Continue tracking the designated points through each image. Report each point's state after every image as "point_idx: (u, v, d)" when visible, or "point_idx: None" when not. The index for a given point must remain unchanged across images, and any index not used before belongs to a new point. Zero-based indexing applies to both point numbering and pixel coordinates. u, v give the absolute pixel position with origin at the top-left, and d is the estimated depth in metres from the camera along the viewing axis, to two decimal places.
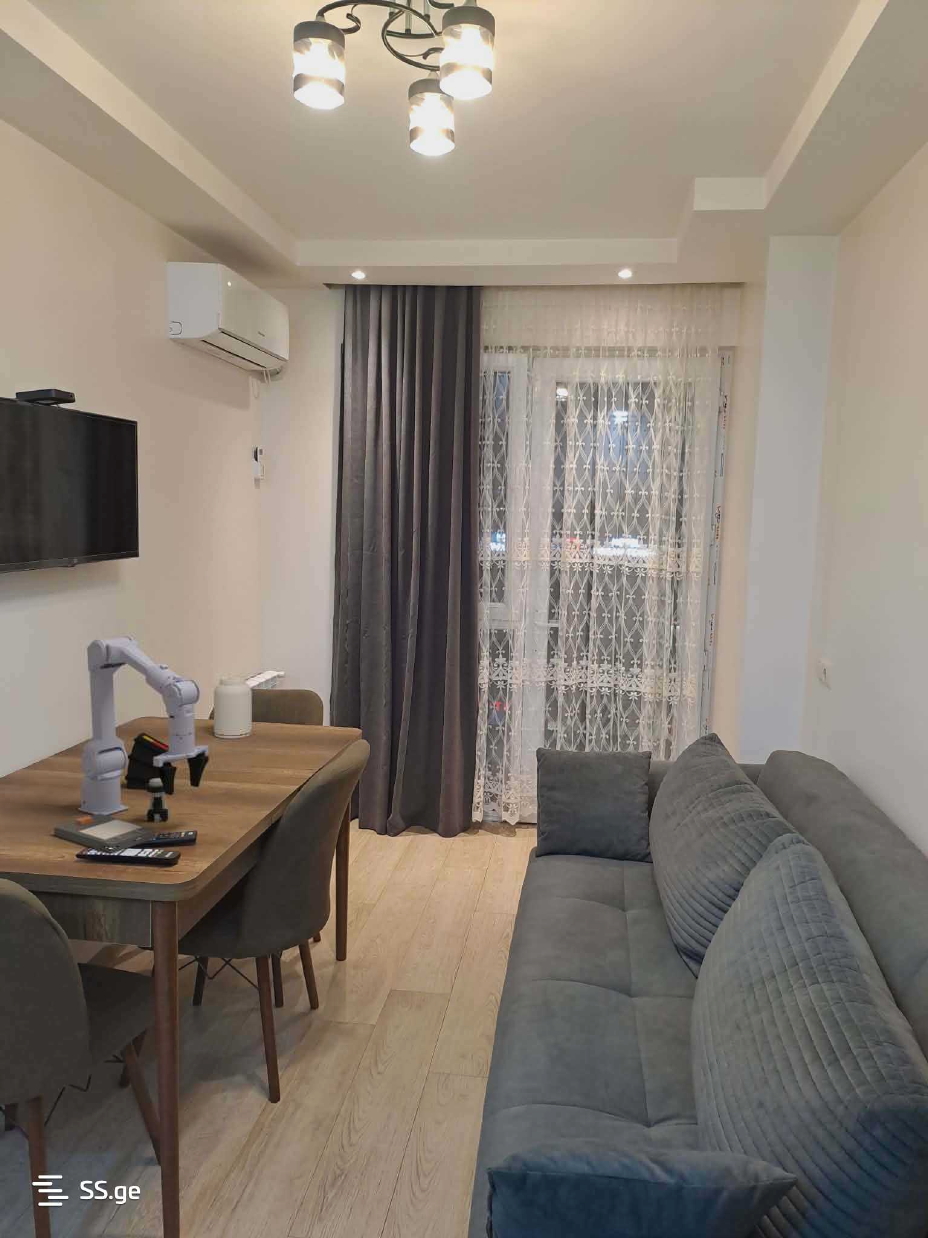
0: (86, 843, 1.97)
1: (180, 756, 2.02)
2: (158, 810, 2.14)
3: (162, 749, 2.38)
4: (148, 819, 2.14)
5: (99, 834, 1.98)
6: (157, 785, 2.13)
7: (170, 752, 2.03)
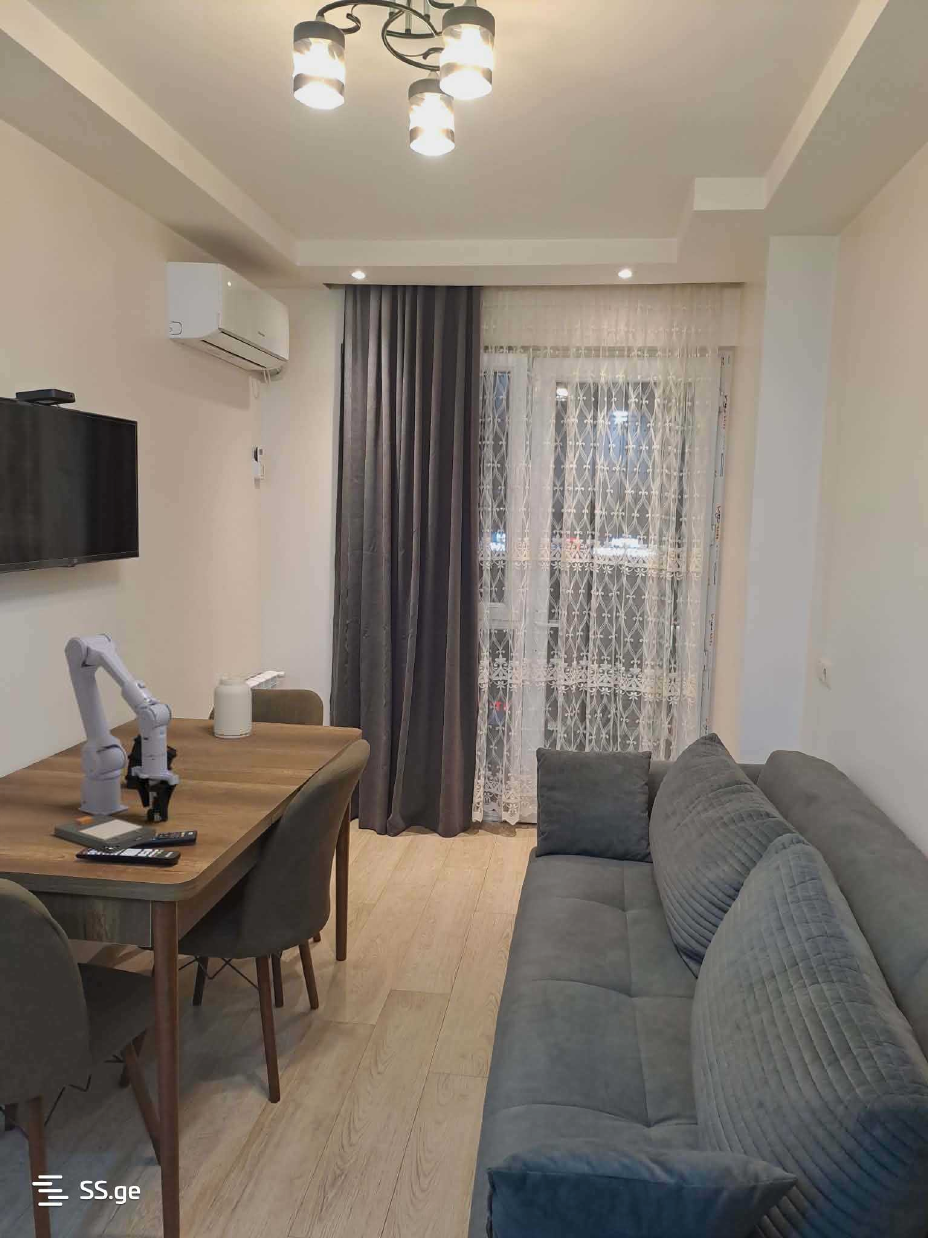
0: (86, 843, 1.97)
1: (139, 773, 2.13)
2: None
3: None
4: (148, 819, 2.14)
5: (99, 834, 1.98)
6: None
7: None
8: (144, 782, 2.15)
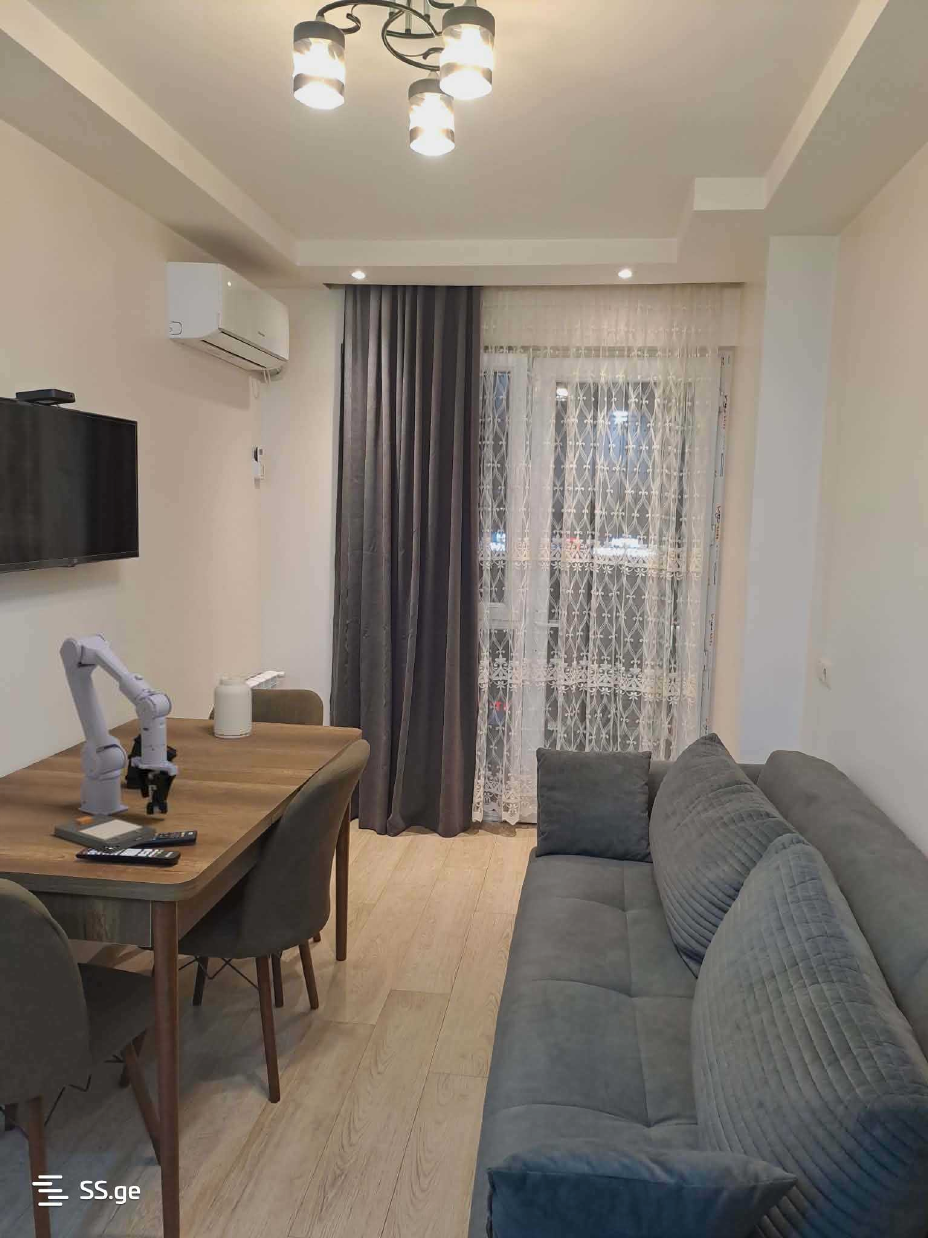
0: (86, 843, 1.97)
1: (139, 763, 2.13)
2: (157, 802, 2.14)
3: None
4: (147, 812, 2.14)
5: (99, 834, 1.98)
6: None
7: None
8: (144, 773, 2.15)
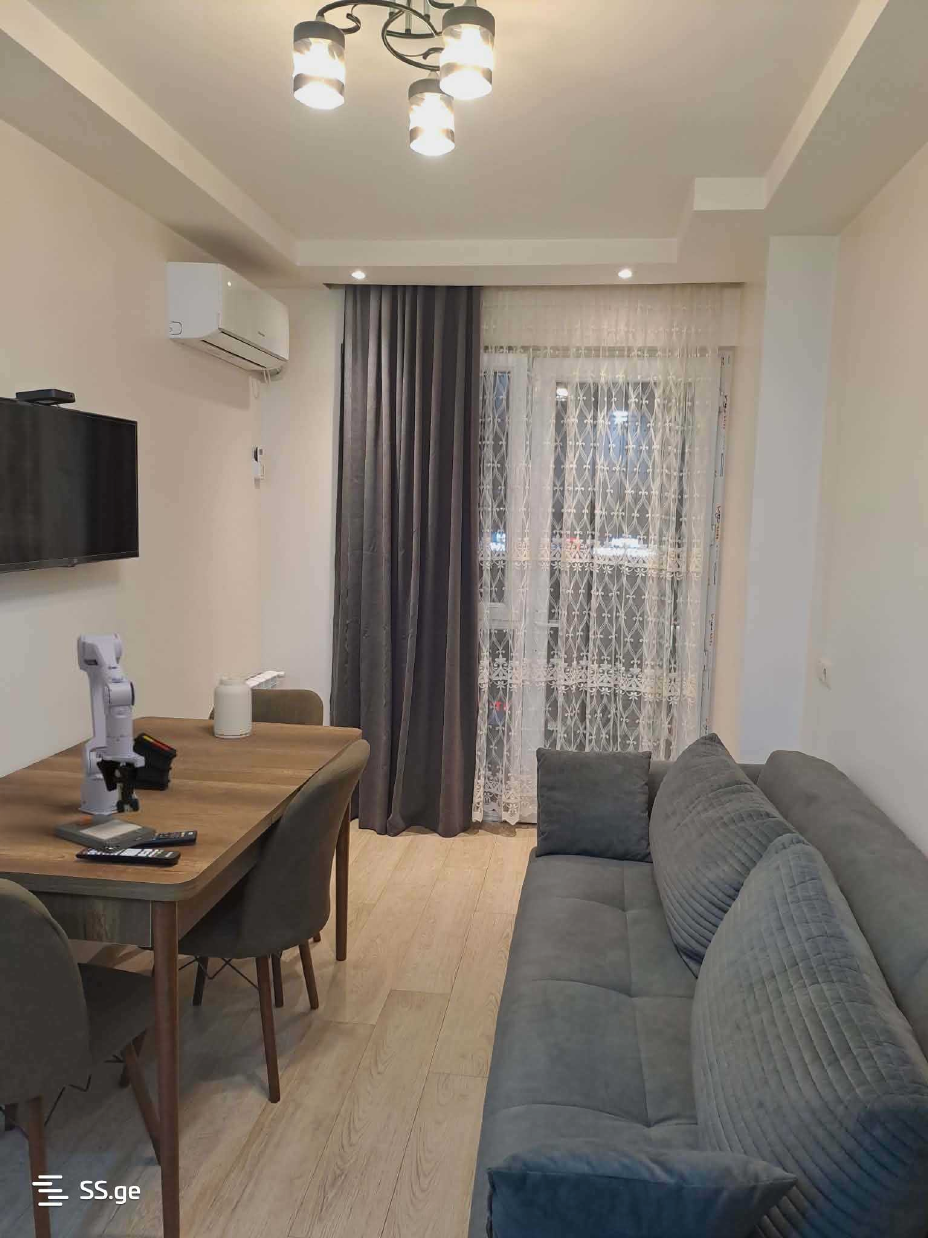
0: (86, 843, 1.97)
1: (103, 755, 2.02)
2: (127, 800, 2.04)
3: (162, 749, 2.38)
4: (118, 810, 2.05)
5: (99, 834, 1.98)
6: None
7: None
8: (108, 765, 2.04)
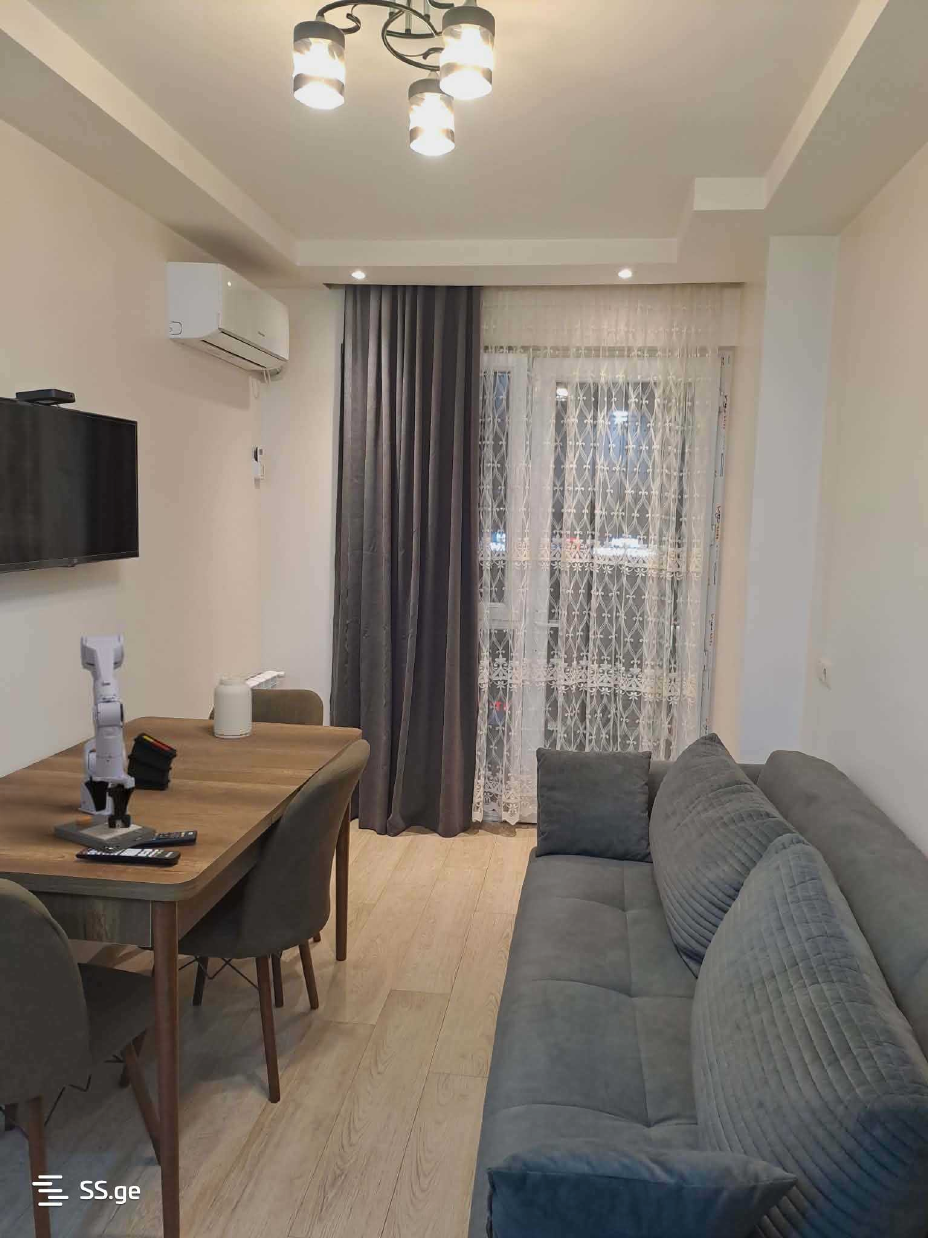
0: (86, 843, 1.97)
1: (93, 775, 2.00)
2: None
3: (162, 749, 2.38)
4: (109, 825, 2.02)
5: (99, 834, 1.98)
6: None
7: None
8: (97, 784, 2.02)
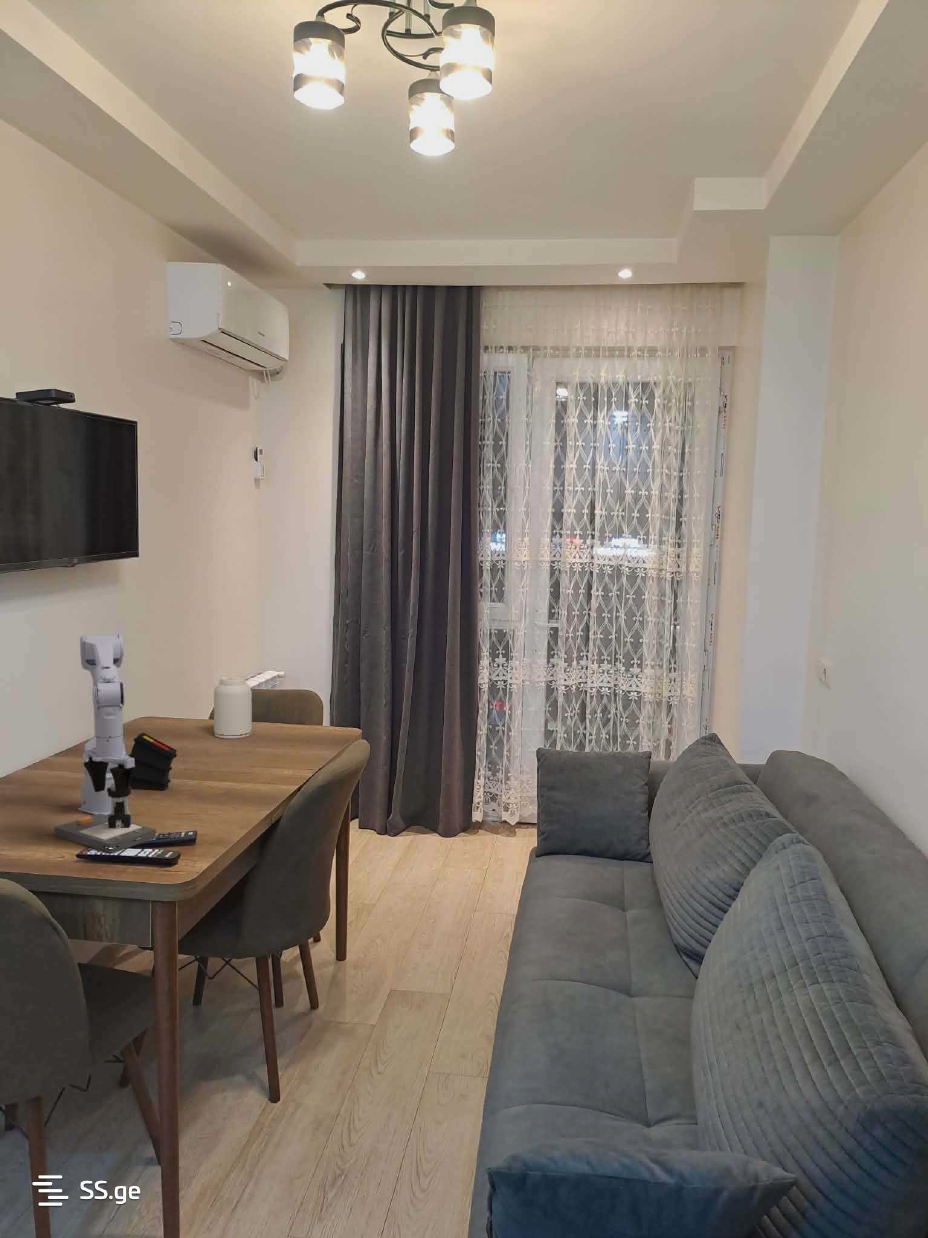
0: (86, 843, 1.97)
1: (93, 756, 2.00)
2: (120, 816, 2.02)
3: (162, 749, 2.38)
4: (109, 825, 2.02)
5: (99, 834, 1.98)
6: None
7: None
8: (96, 765, 2.02)
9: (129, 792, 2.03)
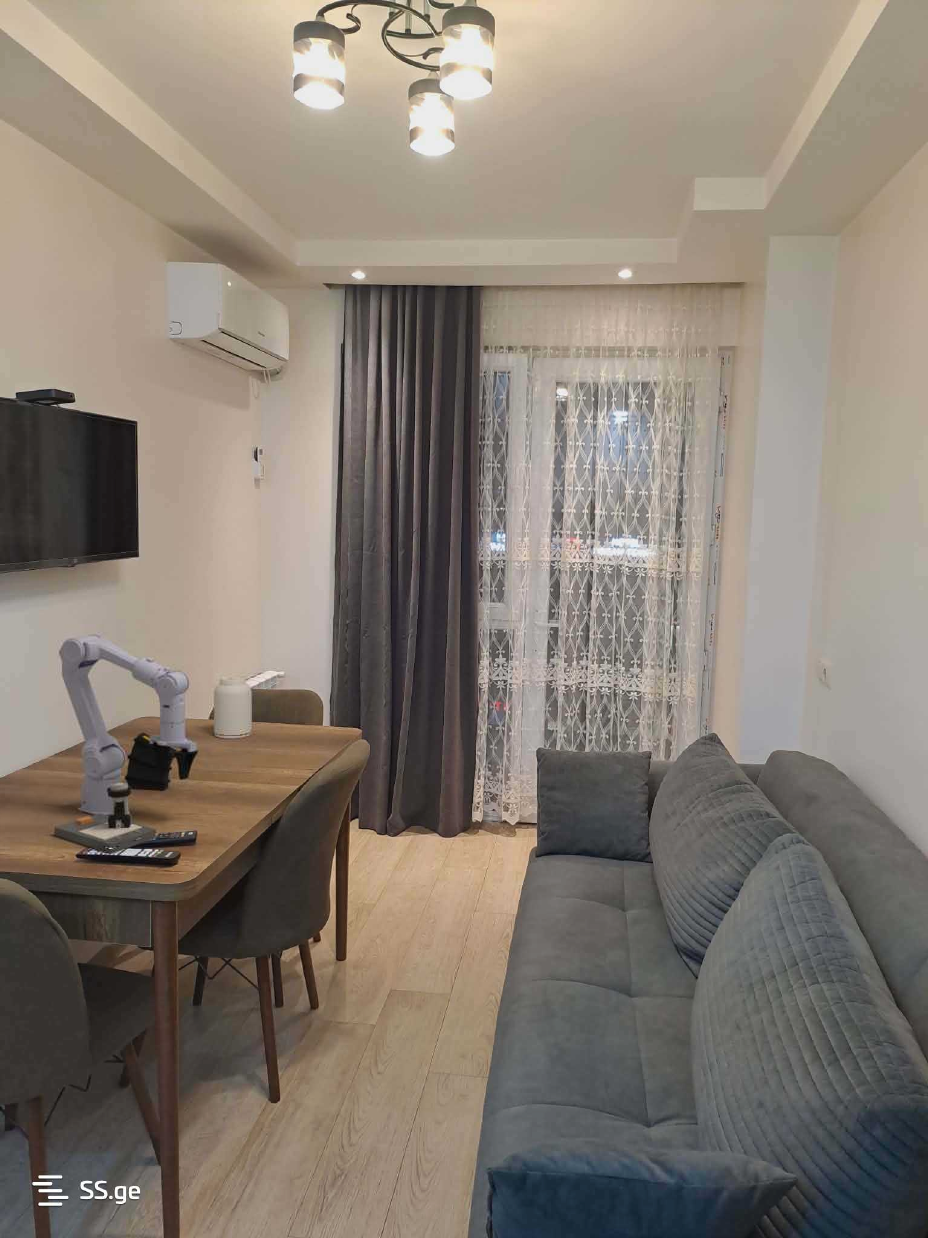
0: (86, 843, 1.97)
1: (158, 740, 2.15)
2: (120, 816, 2.02)
3: None
4: (109, 825, 2.02)
5: (99, 834, 1.98)
6: (119, 789, 2.01)
7: None
8: (159, 749, 2.17)
9: (129, 792, 2.03)
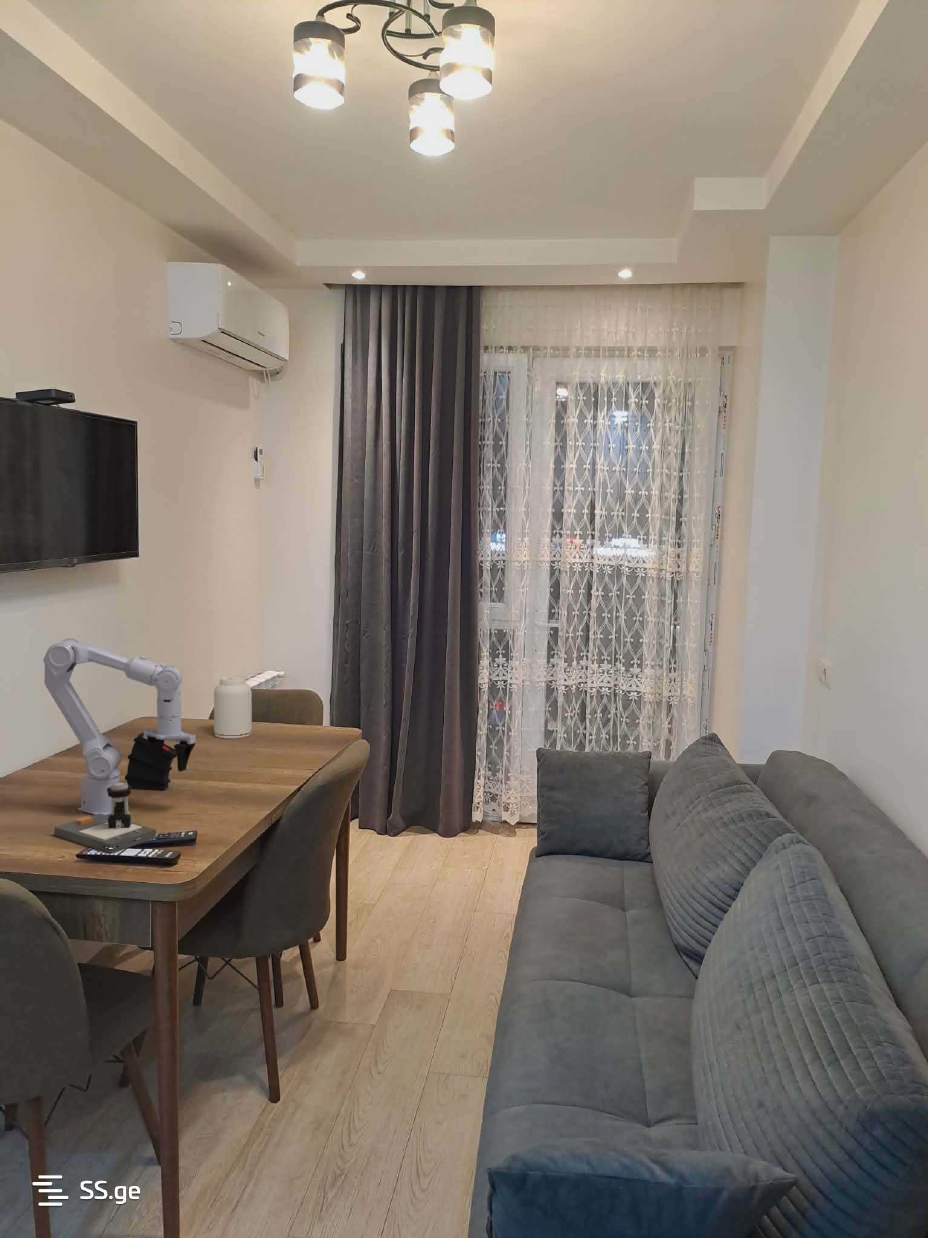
0: (86, 843, 1.97)
1: (155, 734, 2.21)
2: (120, 816, 2.02)
3: None
4: (109, 825, 2.02)
5: (99, 834, 1.98)
6: (119, 789, 2.01)
7: None
8: (155, 743, 2.23)
9: (129, 792, 2.03)
